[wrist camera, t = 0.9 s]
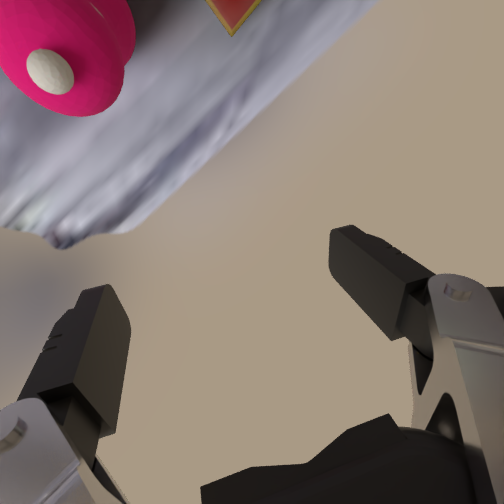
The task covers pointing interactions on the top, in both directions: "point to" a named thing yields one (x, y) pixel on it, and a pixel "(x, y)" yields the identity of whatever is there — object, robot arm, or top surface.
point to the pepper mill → (67, 51)
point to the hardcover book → (232, 12)
